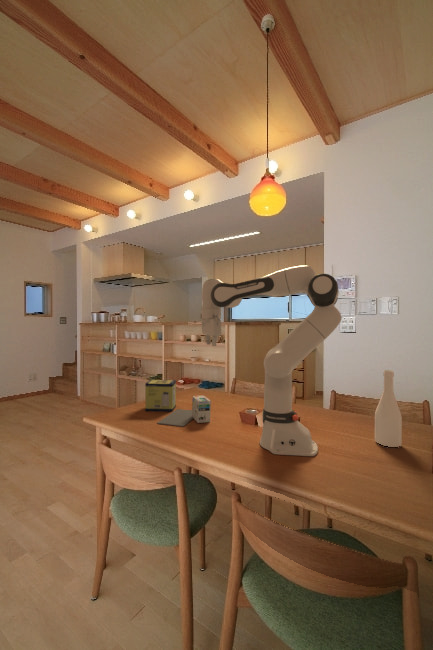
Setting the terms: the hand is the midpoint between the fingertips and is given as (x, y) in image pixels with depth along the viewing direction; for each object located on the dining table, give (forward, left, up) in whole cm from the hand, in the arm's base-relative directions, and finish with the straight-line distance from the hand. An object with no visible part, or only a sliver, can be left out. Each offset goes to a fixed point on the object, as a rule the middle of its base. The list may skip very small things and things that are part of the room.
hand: (211, 345), depth 135 cm
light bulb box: (+9, -11, -39) cm, 41 cm away
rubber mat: (+20, -11, -39) cm, 45 cm away
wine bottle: (-74, -7, -39) cm, 84 cm away
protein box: (+37, -22, -39) cm, 58 cm away
